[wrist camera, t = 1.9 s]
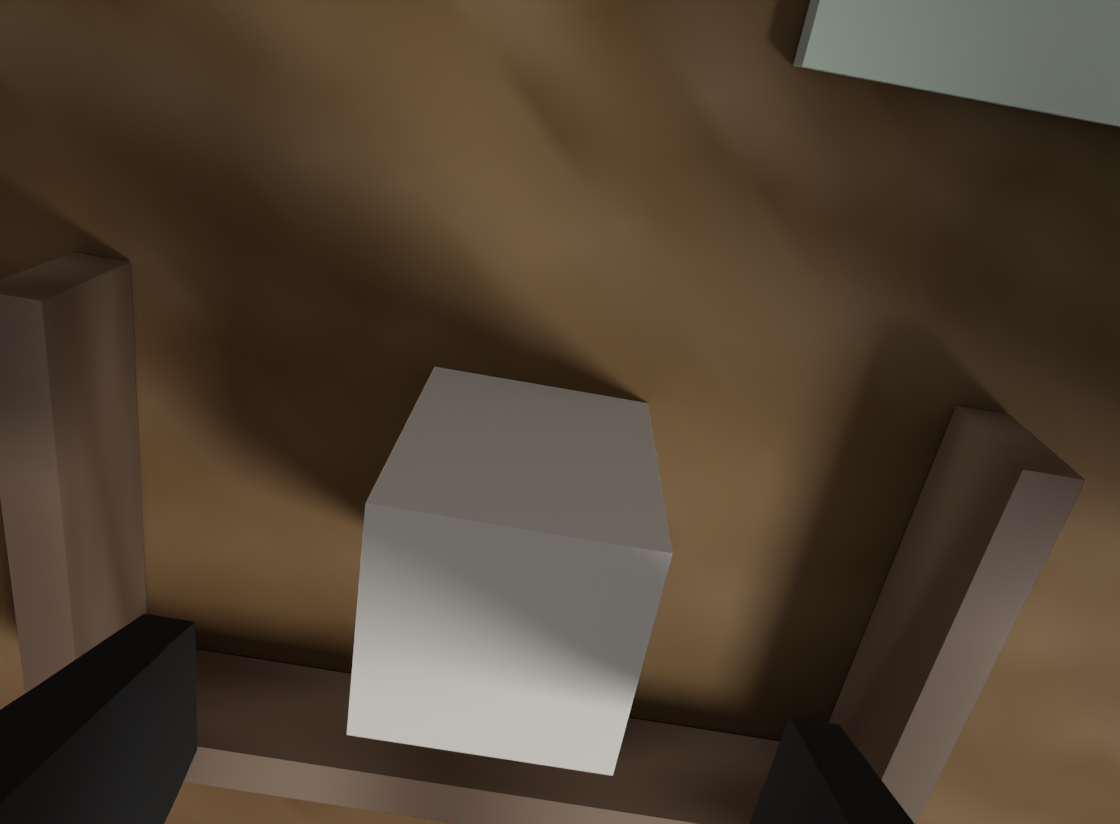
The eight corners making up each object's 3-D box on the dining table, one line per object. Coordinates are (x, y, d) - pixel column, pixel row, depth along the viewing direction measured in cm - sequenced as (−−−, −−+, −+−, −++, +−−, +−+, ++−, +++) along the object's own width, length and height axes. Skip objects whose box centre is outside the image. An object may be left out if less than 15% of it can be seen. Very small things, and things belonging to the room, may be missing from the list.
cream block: (647, 402, 15) (672, 553, 10) (607, 577, 17) (612, 775, 12) (435, 365, 15) (364, 502, 10) (414, 546, 17) (346, 735, 12)
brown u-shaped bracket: (1008, 414, 15) (1085, 480, 12) (848, 785, 19) (883, 888, 16) (72, 251, 14) (-27, 289, 12) (105, 669, 18) (34, 759, 16)
